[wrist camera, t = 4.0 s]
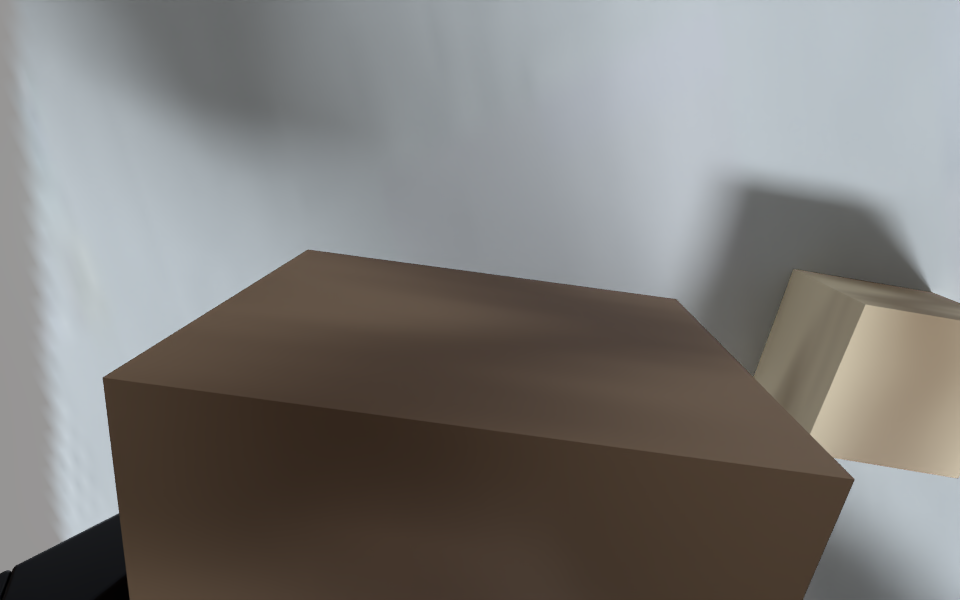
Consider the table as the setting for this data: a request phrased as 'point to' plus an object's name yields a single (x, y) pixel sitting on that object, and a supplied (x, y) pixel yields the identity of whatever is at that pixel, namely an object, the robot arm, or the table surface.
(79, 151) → the table surface
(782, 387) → the birch cube
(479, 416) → the walnut block
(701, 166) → the table surface
